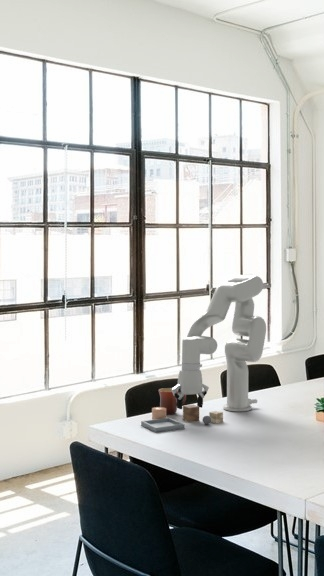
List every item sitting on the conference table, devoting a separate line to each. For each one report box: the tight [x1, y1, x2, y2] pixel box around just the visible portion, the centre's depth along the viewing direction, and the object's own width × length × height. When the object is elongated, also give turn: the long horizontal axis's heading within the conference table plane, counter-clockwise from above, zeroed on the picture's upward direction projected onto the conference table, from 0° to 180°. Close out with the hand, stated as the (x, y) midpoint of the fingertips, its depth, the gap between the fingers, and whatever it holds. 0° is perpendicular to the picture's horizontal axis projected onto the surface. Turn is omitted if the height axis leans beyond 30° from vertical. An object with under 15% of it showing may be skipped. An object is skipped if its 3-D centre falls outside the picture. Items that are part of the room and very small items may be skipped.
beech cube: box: [208, 410, 224, 424], centre depth 299 cm, size 4×4×4 cm
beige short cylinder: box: [151, 406, 167, 420], centre depth 301 cm, size 6×6×5 cm
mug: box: [158, 387, 187, 416], centre depth 314 cm, size 12×9×10 cm
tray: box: [140, 417, 185, 433], centre depth 290 cm, size 13×13×2 cm
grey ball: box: [202, 415, 212, 426], centre depth 294 cm, size 4×4×4 cm
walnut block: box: [182, 404, 200, 423], centre depth 301 cm, size 5×5×6 cm
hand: (189, 407), depth 301 cm, fingers open, 9 cm apart
